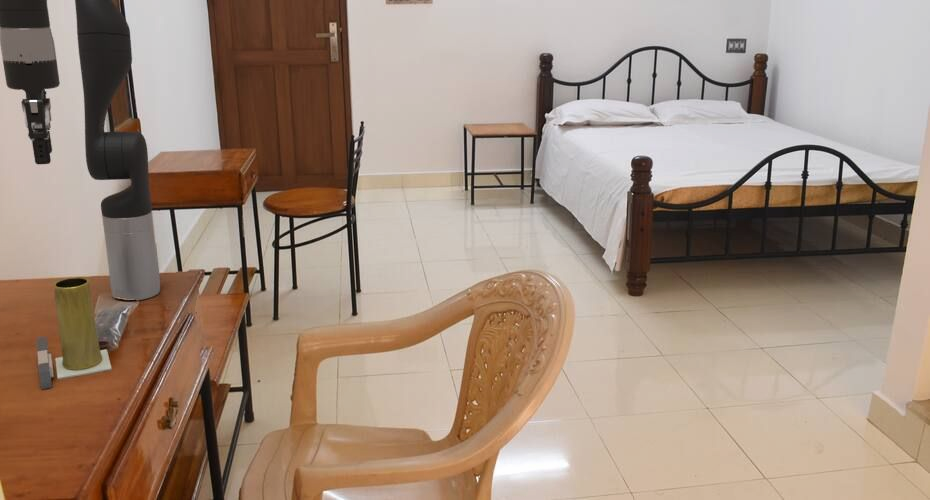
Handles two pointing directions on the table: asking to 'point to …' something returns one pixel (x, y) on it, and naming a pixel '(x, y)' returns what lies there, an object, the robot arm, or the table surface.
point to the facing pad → (68, 373)
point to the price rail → (44, 363)
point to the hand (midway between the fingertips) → (44, 158)
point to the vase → (77, 323)
